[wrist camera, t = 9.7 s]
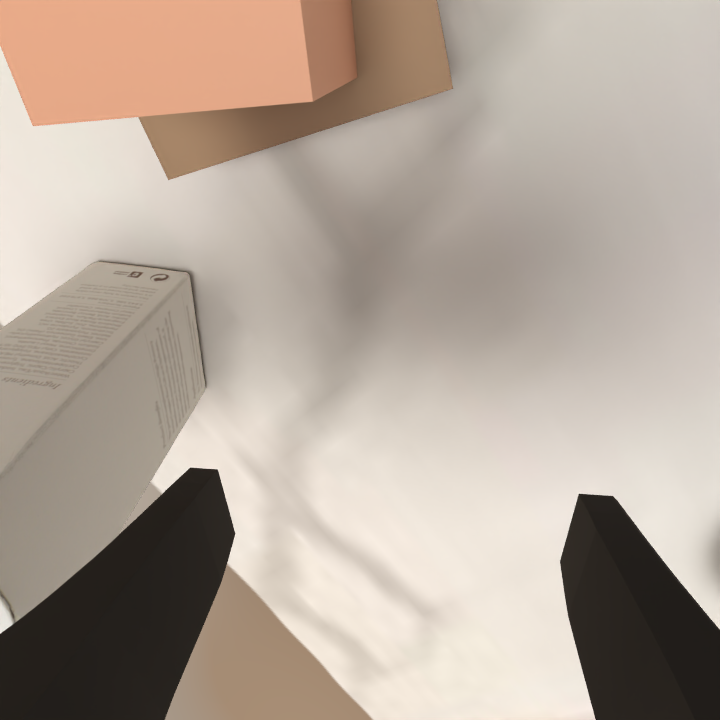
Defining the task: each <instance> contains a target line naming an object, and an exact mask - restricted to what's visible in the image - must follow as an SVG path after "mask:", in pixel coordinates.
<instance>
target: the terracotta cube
mask: <svg viewBox="0 0 720 720" xmlns="http://www.w3.org/2000/svg"><path fill="white" fill-rule="evenodd" d="M0 46H1V48H2V51H3V53H4V56H5V58H6V61H7V63H8V66H9V68H10V71H11V73H12V76H13V78H14V81H15V83H16V85H17V88H18V90H19V93H20V95H21V98H22V100H23V103H24V105H25V108H26V110H27V113H28V115H29V118H30V120H31V122H32V125H33V126H40V125H51V124H62V123H74V122H85V121H97V120H108V119H120V118H131V117H143V116H154V115H166V114H177V113H188V112H200V111H211V110H223V109H234V108H246V107H257V106H269V105H280V104H292V103H303V102H313V101H315V100H317V99H319V98H321V97H322V96H324V95H326V94H328V93H330V92H332V91H333V90H335V89H337V88H339V87H341V86H343V85H344V84H346V83H348V82H350V81H352V80H354V79H356V78H357V65H356V53H355V41H354V28H353V16H352V3H351V0H0Z"/></svg>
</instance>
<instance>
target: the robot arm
mask: <svg viewBox="0 0 720 720" xmlns="http://www.w3.org/2000/svg"><path fill="white" fill-rule="evenodd" d="M234 536H235V531H234V528H233V524H232V520H231V517H230V513H229V509H228V506H227V502H226V498H225V494H224V491H223V487H222V483H221V480H220V476H219V472H218V470H216V469H202V468H190V469H188V470H187V471H186V472H185V473H184V474H183V475H182V476H181V477H180V478H179V479H178V480H177V481H175V482H174V483H173V484H172V485H171V486H170V487H169V488H168V489H167V490H166V491H165V492H164V493H163V494H162V495H161V496H160V497H159V498H158V499H157V500H155V501H154V502H153V503H152V504H151V505H150V506H149V507H148V508H147V509H146V510H145V511H144V512H143V513H142V514H141V515H140V516H139V517H138V518H137V519H136V520H134V521H133V522H132V523H131V524H130V525H129V526H128V527H127V528H126V529H125V530H124V531H123V532H121V533H120V534H119V535H118V536H117V537H116V538H115V539H114V540H113V541H112V542H111V543H109V544H108V545H107V546H106V547H105V548H104V549H103V550H102V551H101V552H100V553H98V554H97V555H96V556H95V557H94V558H93V559H92V560H91V561H89V562H88V563H87V564H86V565H85V566H84V567H82V568H81V569H80V570H79V571H78V572H77V573H75V574H74V575H73V576H72V577H71V578H70V579H68V580H67V581H66V582H65V583H64V584H63V585H61V586H60V587H59V588H58V589H57V590H55V591H54V592H53V593H52V594H51V595H49V596H48V597H47V598H46V599H45V600H43V601H42V602H41V603H40V604H38V605H37V606H36V607H35V608H33V609H32V610H31V611H30V612H28V613H27V614H26V615H24V616H23V617H22V618H21V619H19V620H18V621H17V622H15V623H14V624H13V625H11V626H10V627H9V628H7V629H6V630H5V631H3V632H2V633H1V634H0V720H165V717H166V714H167V712H168V709H169V707H170V703H171V701H172V698H173V696H174V693H175V691H176V689H177V686H178V684H179V682H180V679H181V677H182V674H183V672H184V670H185V667H186V665H187V663H188V660H189V658H190V655H191V653H192V651H193V648H194V646H195V644H196V641H197V639H198V637H199V634H200V632H201V630H202V627H203V625H204V623H205V620H206V618H207V615H208V613H209V611H210V608H211V606H212V603H213V601H214V598H215V596H216V594H217V591H218V589H219V586H220V584H221V581H222V578H223V575H224V571H225V568H226V565H227V562H228V558H229V555H230V551H231V547H232V544H233V540H234ZM560 564H561V571H562V578H563V585H564V592H565V599H566V605H567V611H568V617H569V621H570V625H571V629H572V632H573V636H574V640H575V644H576V648H577V651H578V655H579V659H580V663H581V667H582V670H583V674H584V678H585V681H586V685H587V689H588V693H589V696H590V700H591V704H592V707H593V711H594V715H595V719H596V720H720V629H719V628H718V627H717V626H716V625H715V624H714V622H713V621H712V620H711V619H710V618H709V616H708V615H707V614H706V613H705V612H704V610H703V609H702V608H701V607H700V606H699V604H698V603H697V602H696V601H695V600H694V598H693V597H692V596H691V595H690V594H689V592H688V591H687V590H686V589H685V588H684V586H683V585H682V584H681V583H680V581H679V580H678V579H677V578H676V576H675V575H674V574H673V573H672V571H671V570H670V569H669V568H668V566H667V565H666V564H665V563H664V561H663V560H662V559H661V557H660V556H659V555H658V554H657V552H656V551H655V550H654V548H653V547H652V546H651V545H650V543H649V542H648V541H647V539H646V538H645V537H644V535H643V534H642V533H641V532H640V530H639V529H638V528H637V526H636V525H635V524H634V522H633V521H632V520H631V518H630V517H629V516H628V514H627V513H626V512H625V510H624V509H623V508H622V506H621V505H620V504H619V502H618V501H617V500H616V499H615V498H614V497H613V496H603V495H588V494H579V496H578V499H577V503H576V506H575V510H574V513H573V517H572V521H571V524H570V528H569V531H568V535H567V539H566V542H565V546H564V549H563V553H562V556H561V560H560Z"/></svg>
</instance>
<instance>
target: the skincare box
mask: <svg viewBox="0 0 720 720" xmlns="http://www.w3.org/2000/svg"><path fill="white" fill-rule="evenodd" d="M204 391H205V380H204V374H203V367H202V360H201V352H200V345H199V338H198V331H197V324H196V317H195V309H194V302H193V295H192V288H191V281H190V276H189V274H188V273H186V272H179V271H172V270H165V269H159V268H150V267H142V266H135V265H127V264H117V263H108V262H94V263H92V264H90V265H89V266H88V267H86V268H85V269H84V270H82V271H81V272H80V273H78V274H77V275H75V276H74V277H73V278H71V279H70V280H68V281H67V282H66V283H64V284H63V285H61V286H60V287H58V288H57V289H56V290H54V291H53V292H52V293H50V294H49V295H47V296H46V297H44V298H43V299H42V300H40V301H39V302H38V303H36V304H35V305H34V306H32V307H31V308H29V309H28V310H27V311H25V312H24V313H23V314H21V315H20V316H18V317H17V318H15V319H14V320H13V321H11V322H10V323H9V324H7V325H6V326H4V327H3V328H1V329H0V634H1V633H2V632H3V631H5V630H6V629H7V628H9V627H10V626H11V625H13V624H14V623H15V622H17V621H18V620H19V619H21V618H22V617H23V616H24V615H26V614H27V613H28V612H30V611H31V610H32V609H33V608H35V607H36V606H37V605H38V604H40V603H41V602H42V601H43V600H45V599H46V598H47V597H48V596H49V595H51V594H52V593H53V592H54V591H55V590H57V589H58V588H59V587H60V586H61V585H63V584H64V583H65V582H66V581H67V580H68V579H70V578H71V577H72V576H73V575H74V574H75V573H77V572H78V571H79V570H80V569H81V568H82V567H84V566H85V565H86V564H87V563H88V562H89V561H91V560H92V559H93V558H94V557H95V556H96V555H97V554H98V553H100V552H101V551H102V550H103V549H104V548H105V547H106V546H107V545H108V544H109V543H111V542H112V541H113V540H114V539H115V538H116V537H117V536H118V535H119V533H120V531H121V530H122V528H123V526H124V524H125V523H126V521H127V520H128V518H129V516H130V515H131V513H132V511H133V510H134V508H135V506H136V505H137V503H138V501H139V500H140V498H141V496H142V495H143V493H144V491H145V490H146V488H147V486H148V485H149V483H150V481H151V480H152V478H153V476H154V475H155V473H156V471H157V470H158V468H159V466H160V465H161V463H162V461H163V460H164V458H165V456H166V455H167V453H168V451H169V450H170V448H171V446H172V445H173V443H174V441H175V439H176V438H177V436H178V434H179V433H180V431H181V429H182V428H183V426H184V425H185V423H186V421H187V420H188V418H189V416H190V415H191V413H192V411H193V410H194V408H195V406H196V405H197V403H198V401H199V400H200V398H201V396H202V395H203V393H204Z"/></svg>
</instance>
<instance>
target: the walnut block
mask: <svg viewBox="0 0 720 720" xmlns="http://www.w3.org/2000/svg"><path fill="white" fill-rule="evenodd" d="M351 3H352V16H353V28H354V41H355V53H356V65H357V78H356V79H354V80H352V81H350V82H348V83H346V84H344V85H343V86H341V87H339V88H337V89H335V90H333V91H332V92H330V93H328V94H326V95H324V96H322V97H321V98H319V99H317V100H315V101H313V102H303V103H292V104H280V105H269V106H257V107H246V108H234V109H223V110H211V111H200V112H188V113H177V114H166V115H154V116H143V117H139V119H140V122H141V124H142V126H143V128H144V130H145V132H146V134H147V136H148V138H149V140H150V142H151V144H152V147H153V149H154V151H155V153H156V155H157V157H158V159H159V161H160V163H161V165H162V167H163V169H164V171H165V174H166V176H167V178H168V180H170V179H173V178H176V177H179V176H182V175H185V174H189V173H192V172H195V171H198V170H201V169H204V168H207V167H210V166H213V165H217V164H220V163H223V162H226V161H229V160H232V159H235V158H238V157H241V156H245V155H248V154H251V153H254V152H257V151H260V150H263V149H266V148H269V147H273V146H276V145H279V144H282V143H285V142H288V141H291V140H294V139H297V138H301V137H304V136H307V135H310V134H313V133H316V132H319V131H322V130H326V129H329V128H332V127H335V126H338V125H341V124H344V123H347V122H350V121H354V120H357V119H360V118H363V117H366V116H369V115H372V114H375V113H378V112H382V111H385V110H388V109H391V108H394V107H397V106H400V105H403V104H406V103H410V102H413V101H416V100H419V99H422V98H425V97H428V96H431V95H434V94H438V93H441V92H444V91H447V90H450V89H453V86H452V81H451V75H450V70H449V64H448V59H447V53H446V48H445V43H444V37H443V32H442V26H441V21H440V15H439V10H438V4H437V0H351Z"/></svg>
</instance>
